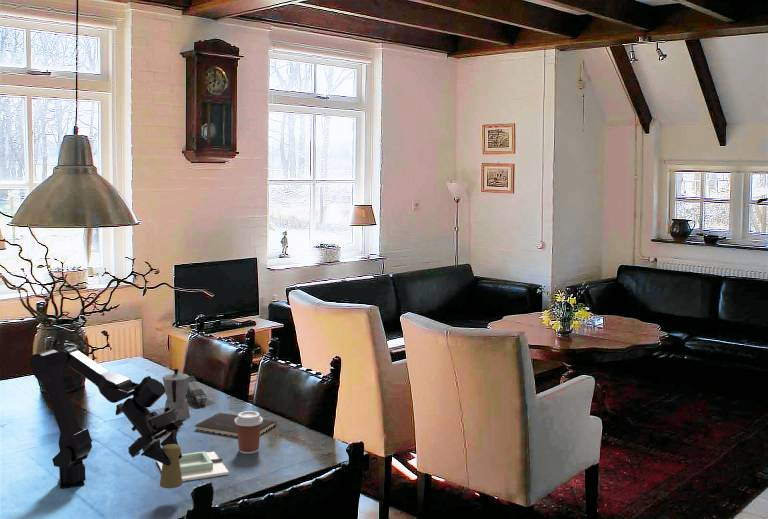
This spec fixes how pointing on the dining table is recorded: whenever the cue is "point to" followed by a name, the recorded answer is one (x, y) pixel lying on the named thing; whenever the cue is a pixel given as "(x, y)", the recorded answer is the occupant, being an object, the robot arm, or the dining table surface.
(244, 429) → the coffee cup
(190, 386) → the gun
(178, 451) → the cork
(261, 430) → the hardcover book
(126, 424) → the dining table surface
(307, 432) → the dining table surface
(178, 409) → the coffeepot
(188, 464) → the dock plate
